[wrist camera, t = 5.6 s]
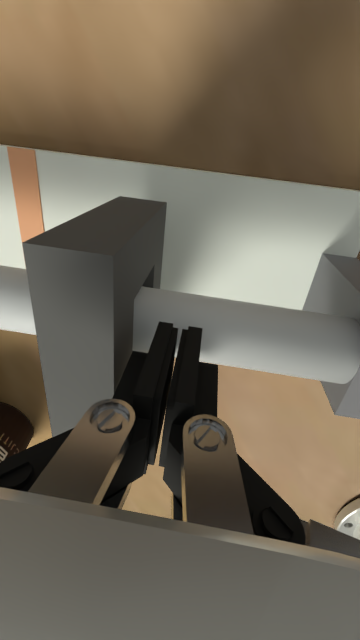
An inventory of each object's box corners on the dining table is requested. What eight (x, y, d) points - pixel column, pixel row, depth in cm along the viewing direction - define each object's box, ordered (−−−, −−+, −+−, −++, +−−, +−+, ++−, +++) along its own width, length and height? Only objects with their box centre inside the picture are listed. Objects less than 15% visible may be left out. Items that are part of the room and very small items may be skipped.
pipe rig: (374, 192, 17) (506, 231, 9) (306, 361, 23) (350, 473, 15) (-127, 128, 19) (-386, 113, 11) (-68, 302, 25) (-205, 375, 17)
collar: (167, 202, 16) (113, 256, 8) (155, 344, 20) (113, 466, 13) (119, 195, 16) (22, 242, 8) (118, 338, 20) (55, 456, 13)
